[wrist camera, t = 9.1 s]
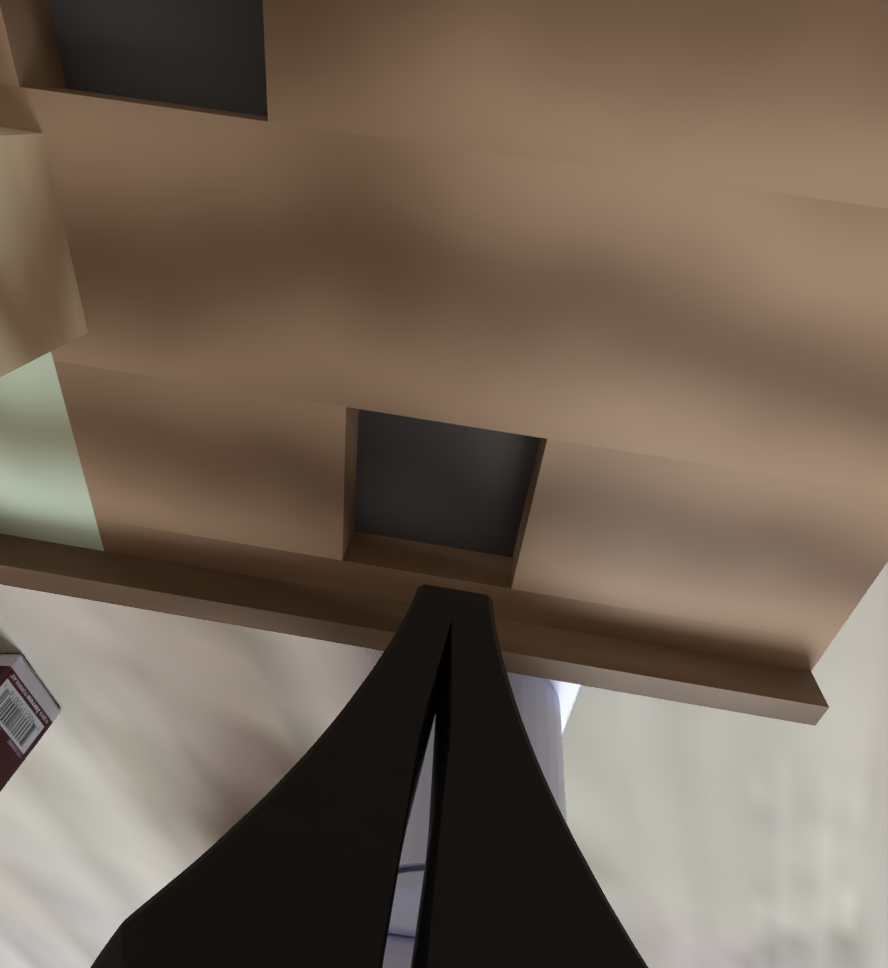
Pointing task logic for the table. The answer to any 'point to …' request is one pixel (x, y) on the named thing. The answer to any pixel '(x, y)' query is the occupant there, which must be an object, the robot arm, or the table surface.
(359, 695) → the robot arm
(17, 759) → the supplement box
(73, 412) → the trap box
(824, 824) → the table surface
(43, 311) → the block
